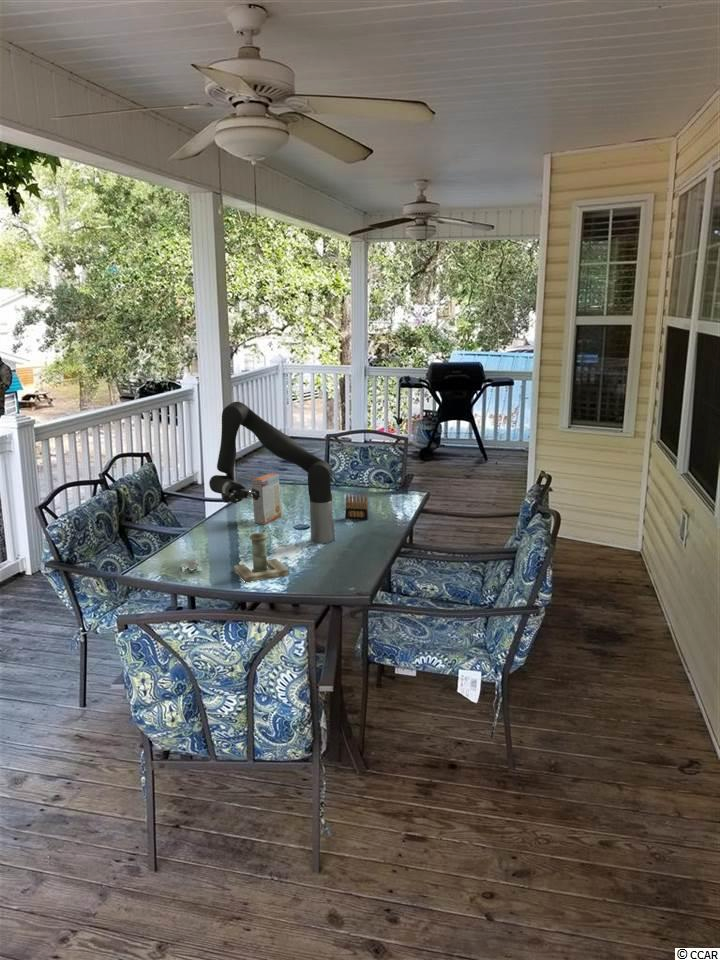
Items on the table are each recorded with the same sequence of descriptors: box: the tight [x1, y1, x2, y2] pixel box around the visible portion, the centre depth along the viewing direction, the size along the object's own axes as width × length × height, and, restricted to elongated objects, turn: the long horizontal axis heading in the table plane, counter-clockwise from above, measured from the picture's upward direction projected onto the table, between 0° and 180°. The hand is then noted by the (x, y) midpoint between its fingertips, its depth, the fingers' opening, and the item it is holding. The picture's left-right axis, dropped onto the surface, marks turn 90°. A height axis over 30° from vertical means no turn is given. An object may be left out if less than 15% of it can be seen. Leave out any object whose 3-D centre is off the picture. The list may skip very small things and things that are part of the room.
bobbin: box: [249, 532, 270, 573], centre depth 256 cm, size 6×6×14 cm
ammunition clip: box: [344, 493, 369, 521], centre depth 323 cm, size 11×2×12 cm, turn 76°
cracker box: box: [251, 472, 282, 525], centre depth 322 cm, size 14×6×21 cm, turn 152°
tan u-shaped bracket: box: [233, 558, 290, 584], centre depth 257 cm, size 16×14×2 cm
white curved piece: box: [179, 558, 199, 569], centre depth 262 cm, size 9×8×4 cm
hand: (246, 499), depth 269 cm, fingers open, 8 cm apart
